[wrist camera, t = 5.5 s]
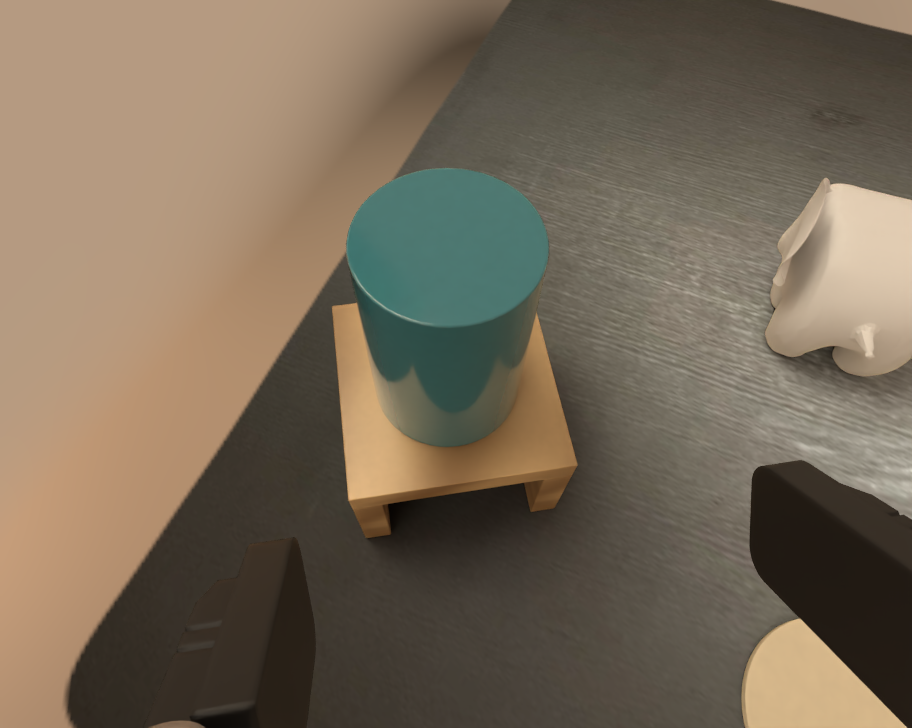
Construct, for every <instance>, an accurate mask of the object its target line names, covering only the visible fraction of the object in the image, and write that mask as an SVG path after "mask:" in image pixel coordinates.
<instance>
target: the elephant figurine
mask: <svg viewBox="0 0 912 728" xmlns="http://www.w3.org/2000/svg"><path fill="white" fill-rule="evenodd" d="M777 246H778V250H779V252H780V254H781V256H782V262H781V264H780V266H779V268H778V270H777V273H776V276H775V277H774V279H773V280H772V282H774V283H773V286H772V289H771V292H770V297H771V303H772V305H773V307H774V308H776V309H775V311H774V313H773V316H772V318H771V320H770V322H769V325H768V327H767V329H766V331H765V336H766V340H767V343H768V345H769V346H770V348H771V349H772V350H773V351H774V352H777V353H780V354H782V355H785V356H788V357H796V356H801V355H802V354H804V353H807V352H810V351H813V350H816V349H819V348H823V347H828V346H835V348H834V350H833V353H832V357H833V359H834V361H835V363H836V364H837V365H838V367H839V368H840V369H842V370H843V371H845V372H847V373H849V374H853V375H858V376H863V377H865V376H874V375H880V374H885V373H888V372H891V371H893V370H895V369H897V368H899V367H901V366H902V365H904V364H905V363H906V362H908V361H909V360H910V359H911V358H912V200H908V199H904V198H900V197H896V196H892V195H888V194H884V193H879V192H875V191H871V190H867V189H863V188H860V187H856V186H853V185H848V184H832V185H830V182H829V179H828V178H824V179H823V180H822V182H821V183H820V185H819V187H818V189H817V191H816V192H815V194H814V195H813V196H812V198H811V199H810V200H809V202H808V204H807V205H806V207H805V208H804V210H803V212H802V213H801V214H800V215H799V217H798V218H797V219H796V221H795V222H794V223H793V224H792V225H791V226H790V227H789V228H788V230H787V231H786V232H785V233H784V234H783V236H782V237H781V238H780V240H779V242H778V244H777Z"/></svg>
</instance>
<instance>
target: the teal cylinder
mask: <svg viewBox="0 0 912 728" xmlns="http://www.w3.org/2000/svg"><path fill="white" fill-rule="evenodd" d="M346 255H347V260H348V266H349V270H350V275H351V280H352V284H353V289H354V293H355V298H356V303H357V307H358V312H359V317H360V321H361V326H362V330H363V335H364V340H365V344H366V349H367V354H368V358H369V363H370V367H371V372H372V377H373V381H374V386H375V391H376V395H377V399H378V402H379V405H380V407H381V409H382V411H383V413H384V415H385V416H386V417H387V419H388V420H389V421H390V422H391V423H392V425H393V426H394V427H395V428H397V429H398V430H399V431H400V432H402V433H403V434H404V435H406V436H408V437H409V438H411V439H413V440H416V441H418V442H421V443H424V444H427V445H432V446H438V447H455V446H462V445H467V444H470V443H473V442H476V441H478V440H480V439H482V438H484V437H486V436H488V435H489V434H491V433H492V432H494V431H495V430H496V429H497V428H498V427H500V426H501V425H502V423H503V422H504V421H505V420H506V419H507V417H508V416H509V414H510V413H511V411H512V409H513V407H514V404H515V402H516V398H517V395H518V390H519V386H520V382H521V377H522V373H523V369H524V364H525V360H526V356H527V351H528V347H529V342H530V338H531V334H532V329H533V325H534V321H535V316H536V312H537V308H538V303H539V299H540V294H541V290H542V286H543V281H544V277H545V273H546V268H547V264H548V258H549V240H548V235H547V230H546V228H545V225H544V223H543V220H542V218H541V217H540V215H539V213H538V211H537V210H536V209H535V207H534V206H533V205H532V203H531V202H530V201H529V200H528V199H527V198H526V197H525V196H524V195H523V194H522V193H520V192H519V191H518V190H516V189H515V188H514V187H512V186H511V185H509V184H507V183H506V182H504V181H502V180H500V179H497V178H495V177H493V176H490V175H487V174H484V173H481V172H477V171H473V170H467V169H459V168H434V169H427V170H421V171H417V172H413V173H410V174H407V175H404V176H401V177H399V178H397V179H395V180H393V181H391V182H389V183H387V184H385V185H384V186H382V187H381V188H379V189H378V190H377V191H376V192H374V193H373V194H372V195H371V196H369V198H368V199H367V200H366V201H365V202H364V203H363V204H362V205H361V207H360V208H359V210H358V211H357V213H356V214H355V216H354V218H353V220H352V222H351V225H350V228H349V231H348V235H347V242H346Z"/></svg>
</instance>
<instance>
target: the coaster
mask: <svg viewBox="0 0 912 728" xmlns="http://www.w3.org/2000/svg"><path fill="white" fill-rule="evenodd" d="M741 698H742V713H743V719H744V725H745V728H907V727H906V726H905V725H904V724H903V723H902V722H901V721H900V720H899V719H898V718H897V717H896V716H895V715H894V714H893V713H892V712H891V711H890V710H889V709H888V708H887V707H886V706H885V705H884V704H883V703H882V702H881V701H880V700H879V699H878V698H877V696H876V695H875V694H874V693H873V692H872V691H871V690H870V689H869V688H868V687H867V686H866V685H865V684H864V683H863V682H862V681H861V680H860V679H859V678H858V677H857V676H856V675H855V674H854V673H853V672H852V671H851V670H850V669H849V668H848V667H847V666H846V665H845V664H844V663H843V662H842V661H841V660H840V659H839V658H838V657H837V656H836V655H835V654H834V653H833V652H832V651H831V650H830V648H829V647H828V646H827V645H826V644H825V643H824V642H823V641H822V640H821V639H820V638H819V637H818V636H817V635H816V634H815V633H814V632H813V631H812V630H811V629H810V628H809V627H808V626H807V625H806V624H805V623H804V622H803V621H802V620H801V619H800V618H799V619H795V620H792V621H788V622H786V623H784V624H782V625H779V626H778V627H776V628H775V629H773V630H772V631H770V632H769V633H768V634H767V635H766V636H765V637H764V638H763V639H762V640H761V641H760V642H759V643H758V645H757V646H756V647H755V649H754V651H753V653H752V654H751V656H750V658H749V661H748V663H747V666H746V669H745V673H744V678H743V682H742V695H741Z"/></svg>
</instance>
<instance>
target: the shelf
mask: <svg viewBox="0 0 912 728" xmlns="http://www.w3.org/2000/svg"><path fill="white" fill-rule="evenodd" d="M332 312H333V323H334V335H335V347H336V359H337V371H338V383H339V394H340V406H341V418H342V430H343V442H344V454H345V465H346V477H347V489H348V500H349V502H350V505H351V507H352V509H353V511H354V513H355V515H356V517H357V520H358V522H359V524H360V526H361V528H362V531H363V533H364V535H365V537H366V538H371V537H377V536H384V535H390V534H391V526H390V518H389V509H388V504H390V503H397V502H403V501H409V500H416V499H422V498H429V497H435V496H442V495H448V494H454V493H461V492H467V491H474V490H480V489H487V488H493V487H499V486H506V485H512V484H519V483H524V486H525V490H526V495H527V499H528V504H529V508H530V511H531V512H534V511H540V510H546V509H552V508H555V506H556V504H557V502H558V500H559V499H560V497H561V495H562V493H563V491H564V489H565V487H566V486H567V484H568V482H569V480H570V478H571V476H572V475H573V473H574V471H575V469H576V467H577V461H576V457H575V453H574V450H573V446H572V442H571V439H570V435H569V431H568V427H567V424H566V420H565V416H564V413H563V409H562V405H561V401H560V398H559V394H558V390H557V386H556V383H555V379H554V375H553V372H552V368H551V364H550V360H549V357H548V353H547V349H546V346H545V342H544V338H543V334H542V331H541V327H540V323H539V319H538V316H537V312H536V316H535V321H534V325H533V329H532V334H531V338H530V342H529V347H528V351H527V356H526V360H525V364H524V369H523V373H522V377H521V382H520V386H519V390H518V395H517V398H516V402H515V404H514V407H513V409H512V411H511V413H510V414H509V416H508V417H507V419H506V420H505V421H504V422H503V423H502V425H501V426H500V427H498V428H497V429H496V430H495V431H494V432H492V433H491V434H489V435H488V436H486V437H484V438H482V439H480V440H478V441H476V442H473V443H470V444H467V445H462V446H455V447H438V446H432V445H427V444H424V443H421V442H418V441H416V440H413V439H411V438H409V437H408V436H406V435H404V434H403V433H402V432H400V431H399V430H398V429H397V428H395V427H394V426H393V425H392V423H391V422H390V421H389V420H388V419H387V417H386V416H385V415H384V413H383V411H382V409H381V407H380V405H379V402H378V399H377V395H376V391H375V386H374V381H373V377H372V372H371V367H370V363H369V358H368V354H367V349H366V344H365V340H364V335H363V330H362V326H361V321H360V317H359V312H358V307H357V303H355V304H347V305H339V306H332Z"/></svg>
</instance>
